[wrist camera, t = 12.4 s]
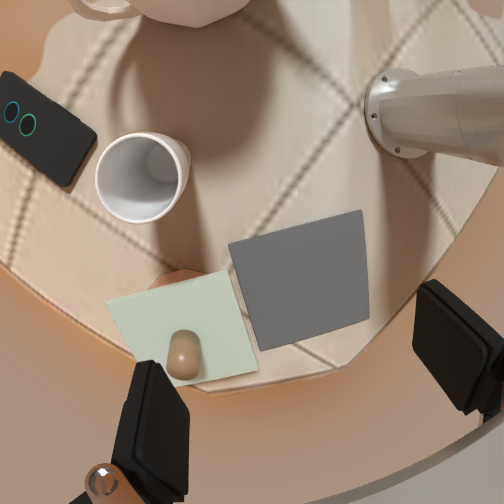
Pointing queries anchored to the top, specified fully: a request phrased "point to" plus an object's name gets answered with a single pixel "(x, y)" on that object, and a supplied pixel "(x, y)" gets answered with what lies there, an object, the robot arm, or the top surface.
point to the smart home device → (42, 130)
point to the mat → (304, 279)
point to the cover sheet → (187, 329)
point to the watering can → (164, 10)
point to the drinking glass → (142, 176)
